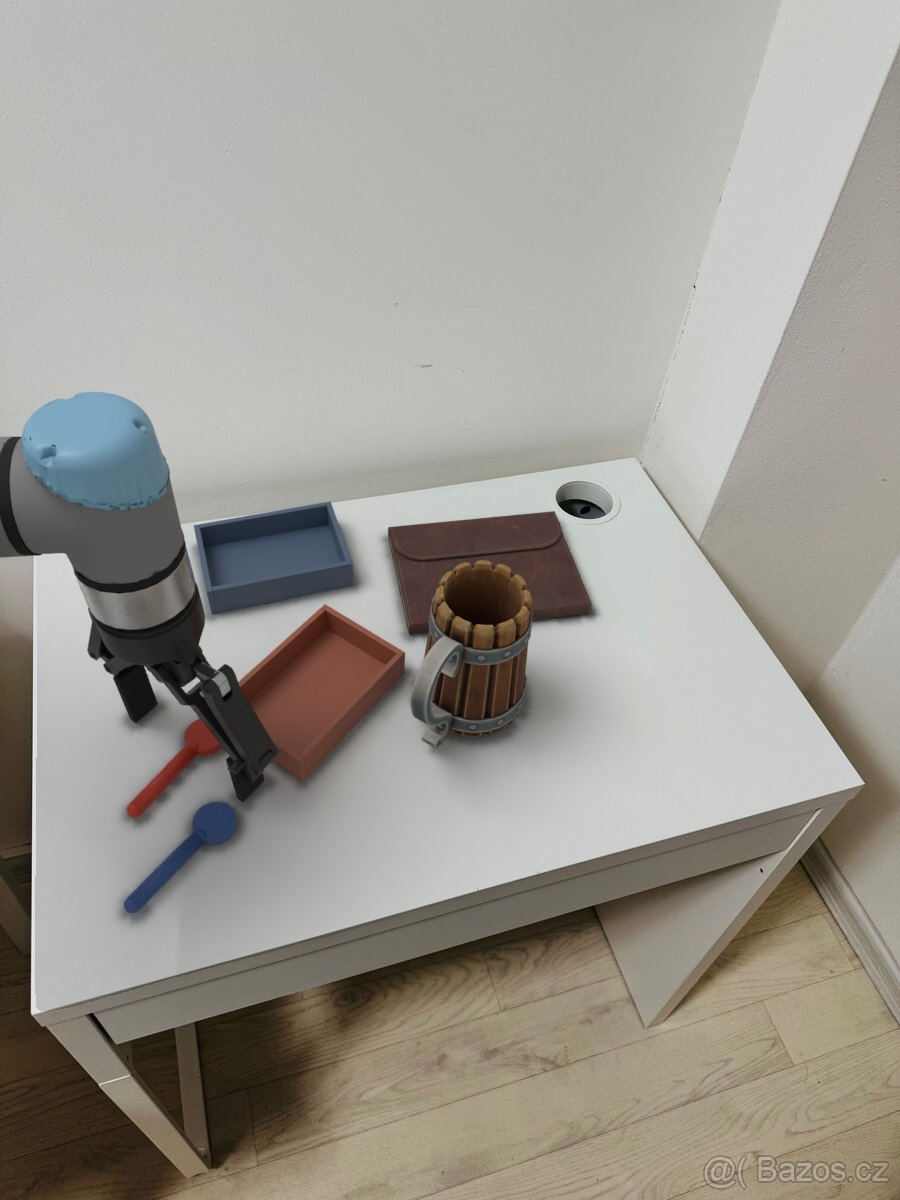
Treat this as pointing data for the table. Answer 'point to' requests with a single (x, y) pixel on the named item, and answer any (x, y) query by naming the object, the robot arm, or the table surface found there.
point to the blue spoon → (186, 850)
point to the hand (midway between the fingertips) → (196, 749)
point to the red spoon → (176, 766)
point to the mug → (474, 653)
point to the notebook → (505, 540)
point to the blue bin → (272, 556)
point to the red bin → (320, 687)
